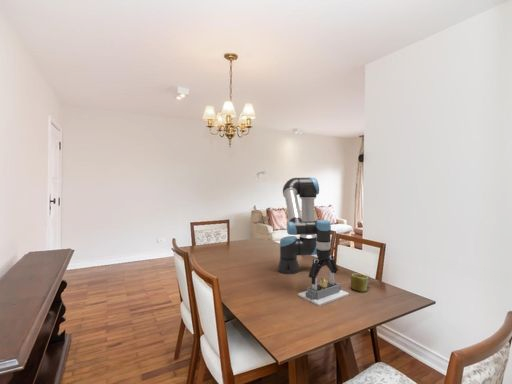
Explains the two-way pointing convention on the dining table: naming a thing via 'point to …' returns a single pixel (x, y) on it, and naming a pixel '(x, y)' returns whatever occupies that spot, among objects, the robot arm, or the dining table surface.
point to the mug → (359, 282)
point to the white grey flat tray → (323, 294)
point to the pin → (323, 283)
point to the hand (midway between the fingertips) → (323, 286)
